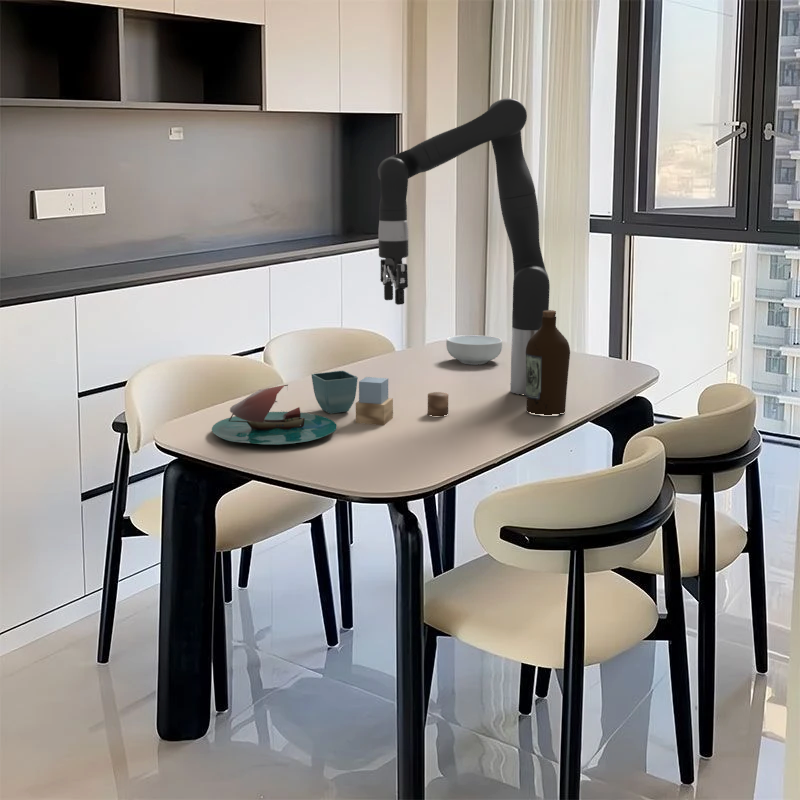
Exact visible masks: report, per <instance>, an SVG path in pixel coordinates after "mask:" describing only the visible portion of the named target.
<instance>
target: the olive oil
mask: <svg viewBox="0 0 800 800" xmlns="http://www.w3.org/2000/svg"><path fill="white" fill-rule="evenodd" d="M556 314H557V311H556V310H552V309H551V310H550V309H549V310H544V311H543V316H542V326H541V328H540V329H539V330H538V331H537V332H536V333H535V334H534V335H533V336H532V337H531V338H530V339H529V341H528V344H527V347H526V395H525V396H526V405H525V406H526V410H527V411H528V412H531V413H535V414H544V415H552V414H560V413H564V412H565V413H566V406H567V389H568V381H569V380H568V379H569V368H570V357H571V348H570V344H569V342H568V339H567V338H566V337H565V335H564V334H562V332H561V331H560V330H559V329H558V327H557V326H556V324H557V316H556ZM526 410H525V411H526ZM527 411H526V412H527ZM565 413H564V414H565Z"/></svg>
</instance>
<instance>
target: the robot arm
mask: <svg viewBox="0 0 800 800" xmlns="http://www.w3.org/2000/svg"><path fill="white" fill-rule="evenodd" d="M522 103H523V102H521V101H519V100H517V99H514V98H511V97H510V98H508V97H507V98H502V99H500V100H497V101H494V102H493V103H491V105H490V106H489V107H488V109H487V110H486V111H485V112H484V113H482V114H481V115H479V116H477V117H476V118H474V119H472V120H470V121H468V122H466V123H463V124H461V125H459V126H457V127H454V128H451V129H449V130H446V131H444V132H441V133H439V134H437V135H434V136H432V137H430V138H428V139H426V140H424V141H421V142H419V143H417V144H416V145H414V146H412V147H411V148H408V149H406V150H404V151H401V152H399V153H396V154H393V155H391V156H389V157H386V158H384V159H383V160H381V162H380V163H379V166H377V167H378V168H377V176H378V179H379V181H380V200H379V205H378V207H379V208H378V210H379V211H378V213H379V214H378V215H379V216H378V217H379V218H378V220H379V222H378V257H379V258H380V280H379V281H380V282H381V283H382V285H383V298H384V300H385V301H392V300H394V303H395V305H398V306H399V305H404V304H405V290H406V288H408V286H409V283H408V282H409V280H408V276H409V275H408V263H403V259H404V258H405V259H406V258H407V257H409V227H408V205H407V203H408V202H407V196H408V186H409V179H410V178H412V177H414V176H417V175H419V174H422V173H426V172H429V171H430V170H433V169H435V168H438V167H439V166H442V165H443V164H446V163H447V162H449V161H452V160H453V159H455V158H457V157H459V156H460V155H462V154H464V153H466V152H468V151H470V150H472V149H474V148H476V147H479V146H480V145H483V144H485V143H488V142H491V145H492V149H493V154H494V159H495V160H494V161H495V166H496V167H495V172H496V178H497V179H496V180H497V187H498V198H499V203H500V204H499V205H500V209H501V210H500V211H501V215H502V221H503V224H504V228H505V231H506V234H507V238H508V240H509V244H510V246H511V252H512V253H511V254H512V263H513V283H512V284H513V285H512V311H511V312H512V314H511V320H512V321H511V324H512V325H511V354H510V355H511V358H510V384H509V385H510V390H509V391H510V393H512V394H514V393H516V394H515V395H519V394H524V395H523V396H526V347H527V344H528V341H529V339H530V338H531V337H532V336H533V335H534V334H535V333H536V332H537V331H538V330H539V329H540V328H541V326H542V316H543V311H544V310H550V307H549V306H550V278H549V275H548V272H547V269H546V267H545V262H544V258H543V254H542V251H541V245H540V244H541V243H540V221H539V220H540V219H539V216H540V215H539V206H538V200H537V194H536V187H535V184H534V181H533V178H532V173H531V171H530V169H529V166H528V165H527V161H526V159H525V155H524V149H523V143H522V130H523V129H524V127H525V125H526V123H527V120H528V119H527V118H528V116H527V115H528V114H527V109H526V107H525V105H524V104H522Z"/></svg>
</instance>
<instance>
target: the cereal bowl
mask: <svg viewBox="0 0 800 800" xmlns="http://www.w3.org/2000/svg"><path fill="white" fill-rule="evenodd" d="M445 347H446V351H447V353H448V354H449V355H450V356H451V358H453V359H455V360H458V361H459V362H460V363H462V364H464V365H469V366H470V365H472V366H474V365H475V366H477V365H478V364H479V365H485V364H488V362H489V361H492V360H495V359H496V358H498V357H499V356H500V354H501V352H502V350H503V339H501V338H500V337H496V336H492V335H479V334H478V335H475V334H474V335H473V334H463V335H452V336H448V337H447V338H446V346H445ZM479 365H478V366H479Z"/></svg>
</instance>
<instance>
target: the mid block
mask: <svg viewBox="0 0 800 800" xmlns="http://www.w3.org/2000/svg"><path fill="white" fill-rule="evenodd" d="M388 398H389V378H387V377H386V378H385V377H375V376H374V377H373V376H365V377H364V378H362V379H360V380H358V401H359V402H360V403H373V404H382V403H384V402H385V401H386V400H388Z"/></svg>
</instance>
